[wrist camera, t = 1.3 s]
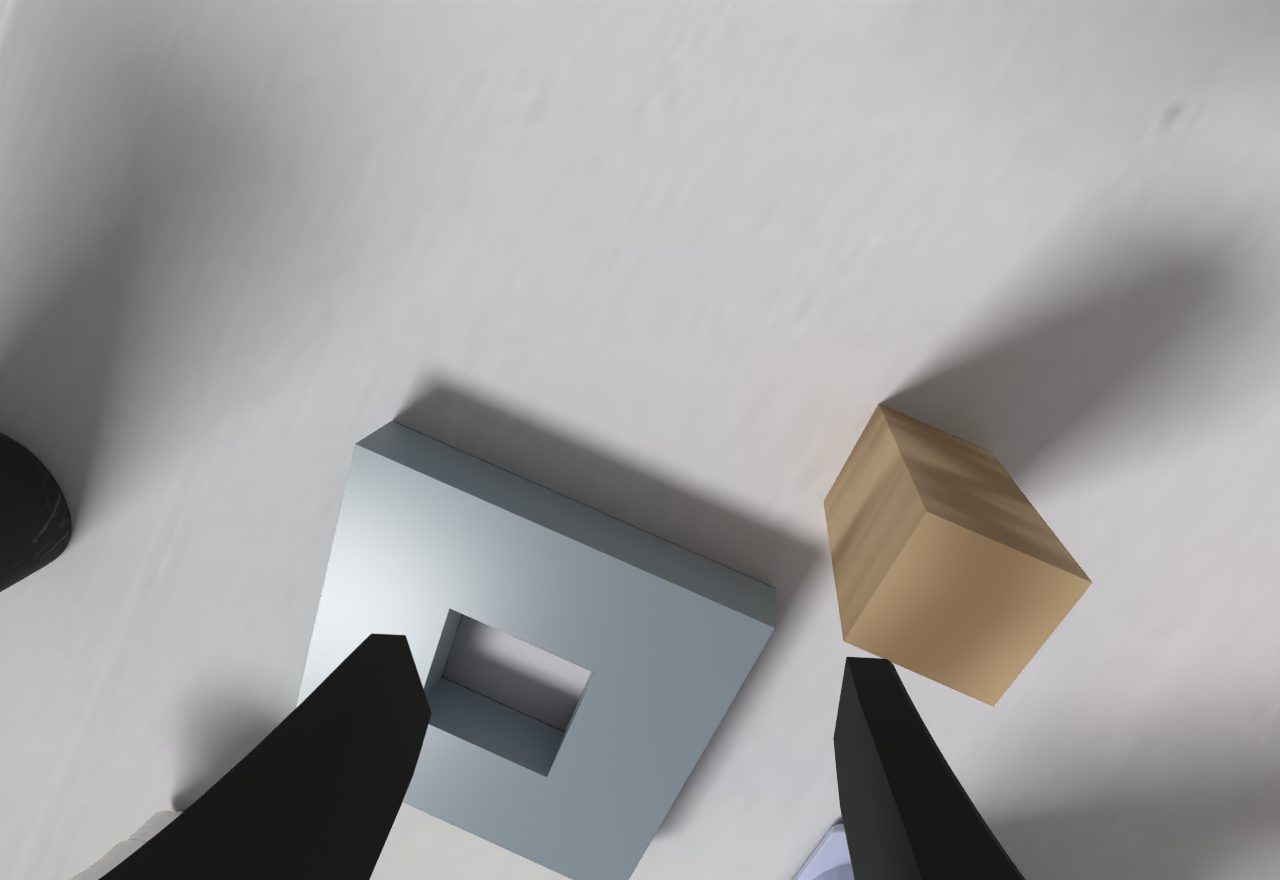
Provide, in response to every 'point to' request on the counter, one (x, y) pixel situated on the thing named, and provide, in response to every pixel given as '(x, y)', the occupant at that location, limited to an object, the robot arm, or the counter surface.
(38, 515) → the travel mug
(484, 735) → the socket block
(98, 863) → the lightbulb
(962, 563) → the peg
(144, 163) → the counter surface
